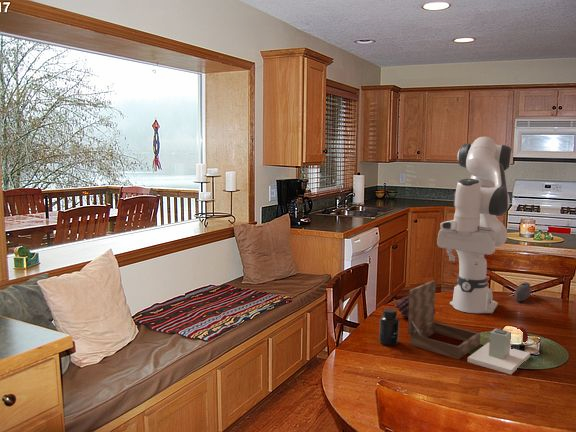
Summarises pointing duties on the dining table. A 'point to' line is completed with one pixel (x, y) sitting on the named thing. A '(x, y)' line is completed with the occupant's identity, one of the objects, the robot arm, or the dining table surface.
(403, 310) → the pine cone
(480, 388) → the dining table surface
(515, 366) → the cutting board
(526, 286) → the perforated stone tool
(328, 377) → the dining table surface
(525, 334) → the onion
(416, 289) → the walnut box
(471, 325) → the dining table surface
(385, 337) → the supplement bottle
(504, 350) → the block
